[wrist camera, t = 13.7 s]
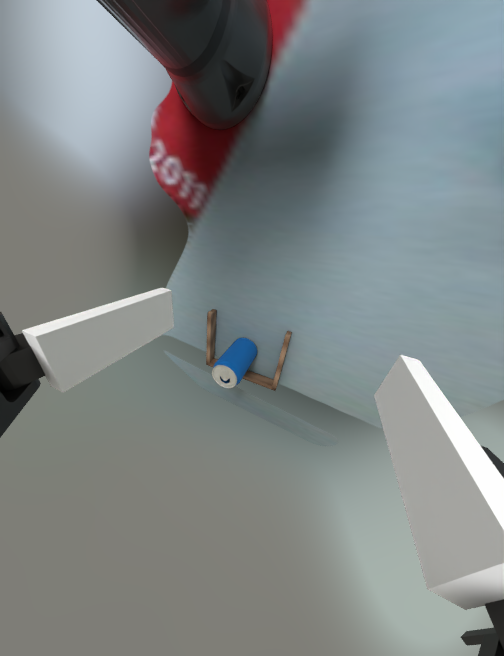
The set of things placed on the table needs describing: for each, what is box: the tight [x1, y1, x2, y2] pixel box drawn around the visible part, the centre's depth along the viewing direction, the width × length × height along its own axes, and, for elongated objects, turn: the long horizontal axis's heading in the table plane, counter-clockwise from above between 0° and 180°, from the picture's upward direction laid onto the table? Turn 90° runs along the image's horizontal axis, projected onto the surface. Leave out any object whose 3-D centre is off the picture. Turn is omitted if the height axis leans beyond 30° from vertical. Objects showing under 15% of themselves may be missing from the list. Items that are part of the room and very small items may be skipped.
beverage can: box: [212, 338, 257, 388], centre depth 43 cm, size 6×6×12 cm
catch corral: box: [206, 309, 292, 390], centre depth 47 cm, size 16×20×2 cm
